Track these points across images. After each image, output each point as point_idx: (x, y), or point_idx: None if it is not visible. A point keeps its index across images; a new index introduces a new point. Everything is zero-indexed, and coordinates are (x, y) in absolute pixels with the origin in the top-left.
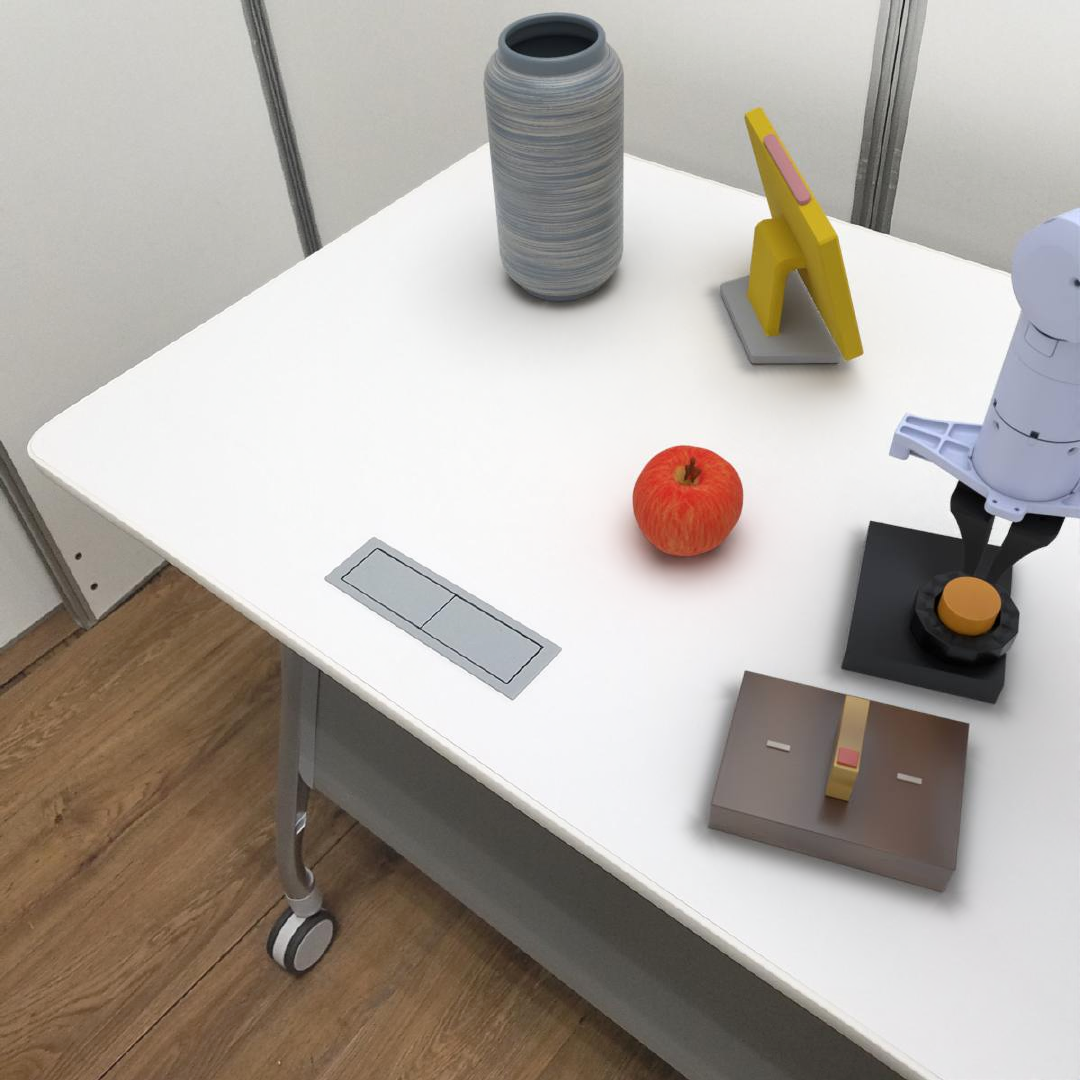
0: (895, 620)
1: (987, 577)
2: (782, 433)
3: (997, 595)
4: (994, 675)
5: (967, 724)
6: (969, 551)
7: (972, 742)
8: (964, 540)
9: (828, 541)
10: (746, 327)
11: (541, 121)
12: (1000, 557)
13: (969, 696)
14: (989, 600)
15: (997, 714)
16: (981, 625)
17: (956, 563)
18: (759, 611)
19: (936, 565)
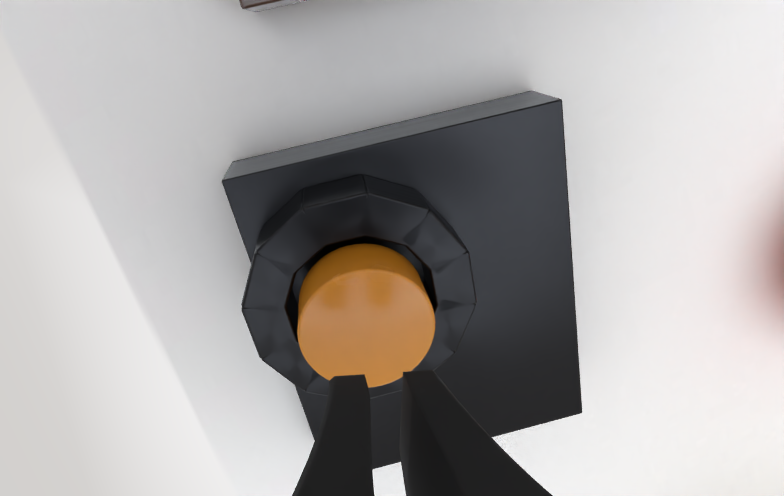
0: (482, 227)
1: (365, 385)
2: (719, 488)
3: (317, 367)
4: (250, 196)
5: (245, 3)
6: (475, 443)
7: (234, 44)
8: (526, 480)
9: (614, 345)
10: None
11: None
12: (363, 478)
13: (283, 151)
14: (328, 345)
15: (218, 140)
16: (320, 276)
17: None
18: (704, 143)
19: (445, 384)
